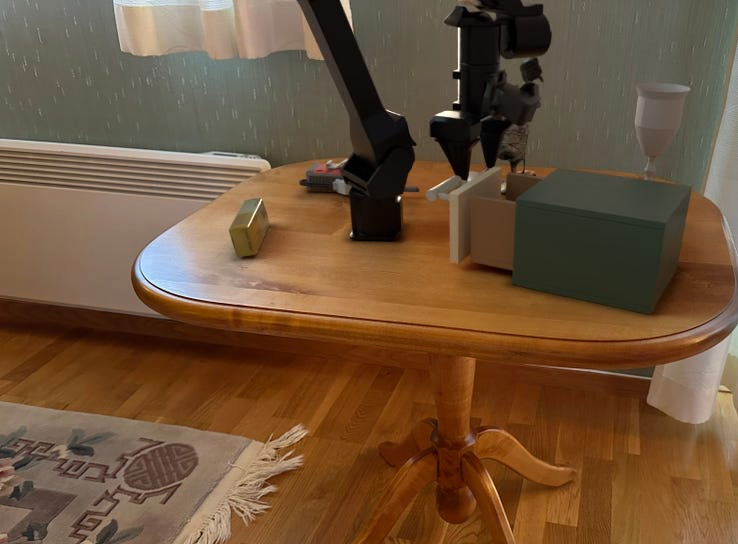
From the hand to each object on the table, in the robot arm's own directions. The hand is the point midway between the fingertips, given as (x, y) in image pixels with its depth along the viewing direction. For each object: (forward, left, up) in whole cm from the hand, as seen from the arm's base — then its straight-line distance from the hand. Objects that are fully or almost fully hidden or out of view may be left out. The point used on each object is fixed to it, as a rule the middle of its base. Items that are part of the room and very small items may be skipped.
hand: (477, 176), depth 100 cm
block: (0, 0, -5) cm, 5 cm away
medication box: (-30, -14, -5) cm, 34 cm away
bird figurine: (+6, +11, -5) cm, 14 cm away
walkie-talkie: (-19, +9, -5) cm, 22 cm away
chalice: (+25, -1, -5) cm, 26 cm away
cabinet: (+15, -23, -5) cm, 28 cm away
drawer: (+5, -19, -4) cm, 20 cm away
